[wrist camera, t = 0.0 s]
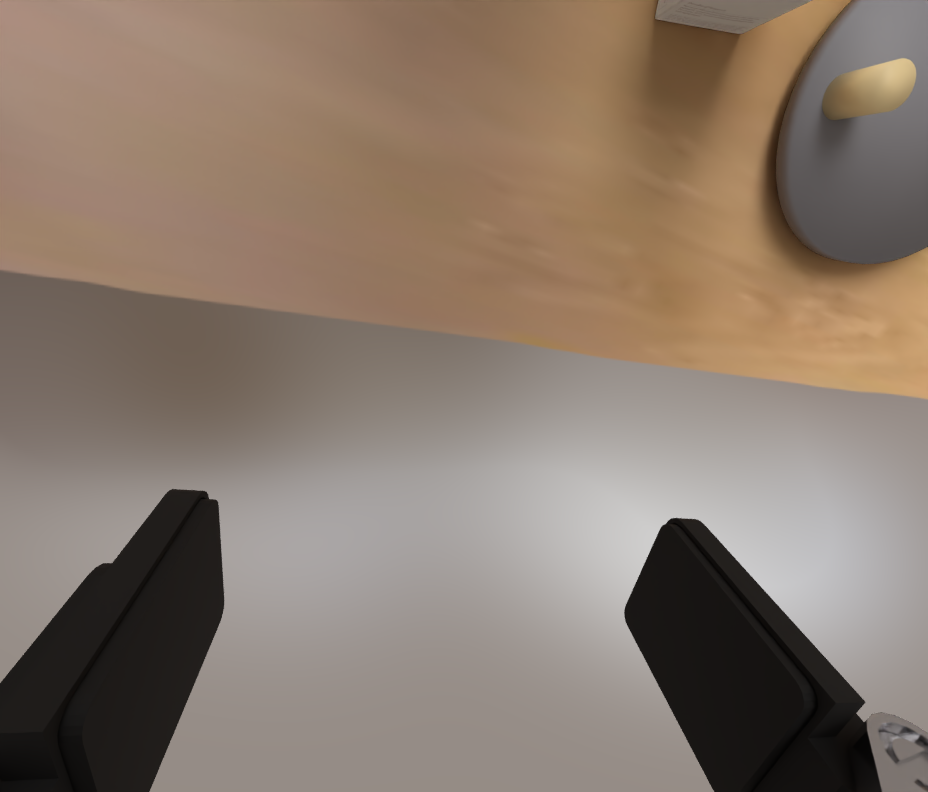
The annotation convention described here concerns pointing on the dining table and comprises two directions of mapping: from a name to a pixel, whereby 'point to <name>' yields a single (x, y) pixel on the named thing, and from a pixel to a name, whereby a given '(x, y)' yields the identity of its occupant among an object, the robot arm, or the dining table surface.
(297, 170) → the dining table surface
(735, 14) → the supplement box
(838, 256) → the disc
